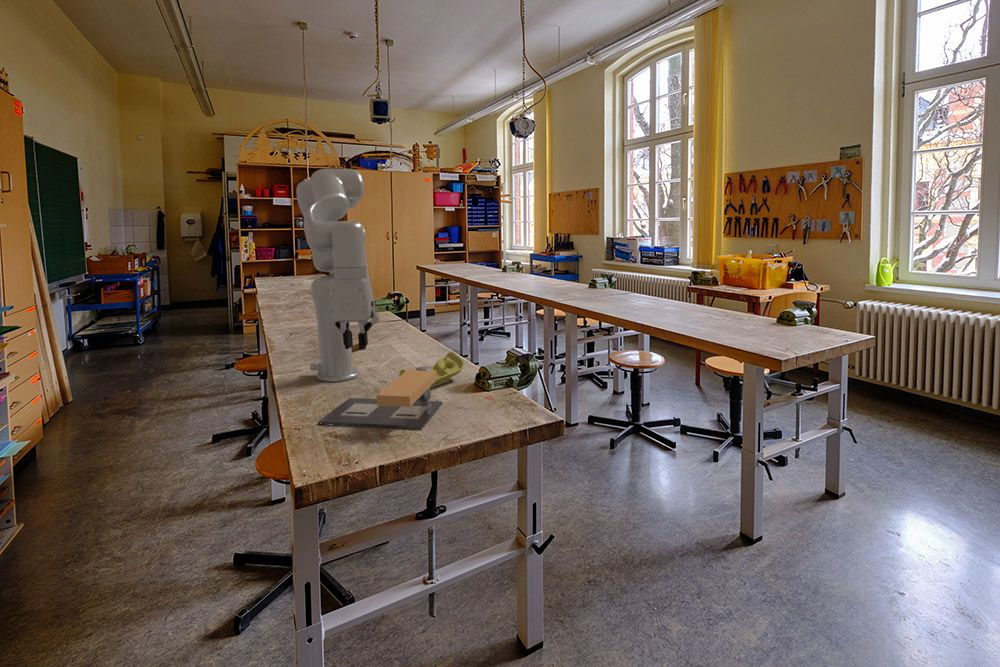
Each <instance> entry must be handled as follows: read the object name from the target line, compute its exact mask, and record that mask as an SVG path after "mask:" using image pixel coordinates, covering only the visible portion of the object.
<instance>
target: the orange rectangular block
mask: <svg viewBox="0 0 1000 667" xmlns="http://www.w3.org/2000/svg"><path fill="white" fill-rule="evenodd" d="M436 380H437V371H435V370H432V368H431V366H418V367H416V368H415V369H406V371H405V372H404V373H403V374H402V375H401V376H399V375H398V377H397V378H395V379H394V380H393V381H392V382H391V383H390V384H388V385H387V386H386V387H385V388H384V389H383V390H381V391H380V392H379V393H378V394H376V399H377V406H400V407H411V406H412V405H413V404H414V402H415V401H416V400H417V401H418V399H420V396H421V395H422V394H423V393H424V392H425V391H426V390H427V389H428V388H429V387H430V386H431V385H432V384H433V383H434V382H435V381H436Z"/></svg>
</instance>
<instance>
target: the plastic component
mask: <svg viewBox="0 0 1000 667" xmlns="http://www.w3.org/2000/svg"><path fill="white" fill-rule="evenodd" d="M430 367H431V368H432V370H435V371H437V380H436V381H435V382H434V383H433V384H432V385H431V386H430V390H431V388H432V389H434V388H436V387H439V386H441V385H443V384H445V383H448V382H450V379H451V378H453V377H455V376H457V375H458V374H459V373H461V371H462V370H463V369H464V368H465V361H464V360H463V358H462V357H461V356H459V354H457V353H456V352H455V351H450V352H448V353H447V354H446V355H445V357H442V358H441V359H438V360H437V361H436V363H435V365H431V366H430ZM405 371H407V369H405V368H403V369H401V370H400V372H399V375H398V377H399V376H401V375H402V374H403V373H404V372H405Z"/></svg>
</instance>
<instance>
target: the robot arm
mask: <svg viewBox="0 0 1000 667" xmlns="http://www.w3.org/2000/svg"><path fill="white" fill-rule="evenodd" d="M364 194H365V182H364V179H363V177H362V175H361V173H360V172H359V171H358V170H356V169H353V168H322V169H318V170H316V171H314V172H313V173H312V175H311V176H310V179H306V180H303V181H301V182H299V183H298V184H297V186H296V199H297V203H298V206H299V210H300V212H301V214H302V216H303V230H304V236H305V239H306V242H307V245H308V247H309V248H310V250H311V258H312V262H313V266H314V268H315V269H316V270H318V272H326V273H327V272H328V273H329V275H328V274H327V275H322V276H318V277H316V278H315V279H314V280H312V282H311V286H310V291H311V296H312V301H313V304H314V310H315V314H316V322H317V323H316V324H317V326H316V327H317V334H318V336H317V337H318V345H319V346H318V347H319V358H320V362H310V366H309V369H310V370H311V371H317V373H316V379H317V380H318V381H322V382H327V383H328V382H333V383H334V382H342V381H348V380H351V379H352V380H353V379H354V378H356V377H358V376H359V370H358V369H356V368H354V364H353V352H352V348H351V347H352V346H353V345H354V342H353V332H352V330H351V325H350V324H351V322H352V323H353V322H358V328H359V333H358V334H357V337H358V338H357V339H358V340H357V341H358V343H359V349H361V350H365V349H364V348H366V349H367V347H368V343H369V339H368V331H370V329H371V328H372V327H373V326H374V325H376V324H378V323H380V322H381V319H380V317H379V315H378V314H377V311H376V307H375V306H376V305H375V298H374V293H373V292H374V291H373V288H372V284H371V281H370V273H369V265H368V256H367V252H366V241H367V240H366V239H367V235H366V229H365V227H364V226H363V225H362V223H360V222H359V221H357V220H341V219H343V218H344V217H345V216H346V215H347V214H348V212H349V209H353V208H355V207H356V206H357V205H358V204H359V203H360V202H361V200H362V199H363V197H364ZM370 319H371V320H370ZM368 320H369V321H368Z"/></svg>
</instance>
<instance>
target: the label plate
mask: <svg viewBox="0 0 1000 667" xmlns="http://www.w3.org/2000/svg"><path fill="white" fill-rule="evenodd" d="M430 398H432V397H431V389H430V387H429V388H428V389H427V390H426V391H425V392H424V393H423V394H422V395H421V396H420V397H419V400H418V399H417V400H416V401H415V402H414V404H413V405H412V406H411V407H400V406H377V398H362V397H360V398H359V397H349V398H348V399H346V400H345V401H343V402H342V403H341V404H339V405H338V406H337V407H336V408H334V409H333V410H332V411H330V412H329V413H327V414H326V415H325V416H323V417H321V418H320V419H319V420H318V421H317V425H318V424H320V423H321V424H333V425H332V426H338V425H346V426H345V427H358V426H360V427H361V428H363V427H364V428H381V429H382V428H383V429H401V430H402V429H403V430H421V429H422V428H423V429H424V427H425V426H426V425H427V424H428V423H429V422H430V420H431V419H432V418H433V417H434V415H435V414H436V413H437V412H438V411H439V410H440V408H441V407H442V406H443V401H441V400H439V401H438V400H437V401H436V400H431V399H430ZM429 399H430V400H429ZM441 405H442V406H441ZM440 406H441V407H440ZM439 407H440V408H439ZM436 411H437V412H436ZM435 412H436V413H435ZM432 416H433V417H432ZM431 417H432V418H431ZM423 429H422V430H423Z"/></svg>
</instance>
